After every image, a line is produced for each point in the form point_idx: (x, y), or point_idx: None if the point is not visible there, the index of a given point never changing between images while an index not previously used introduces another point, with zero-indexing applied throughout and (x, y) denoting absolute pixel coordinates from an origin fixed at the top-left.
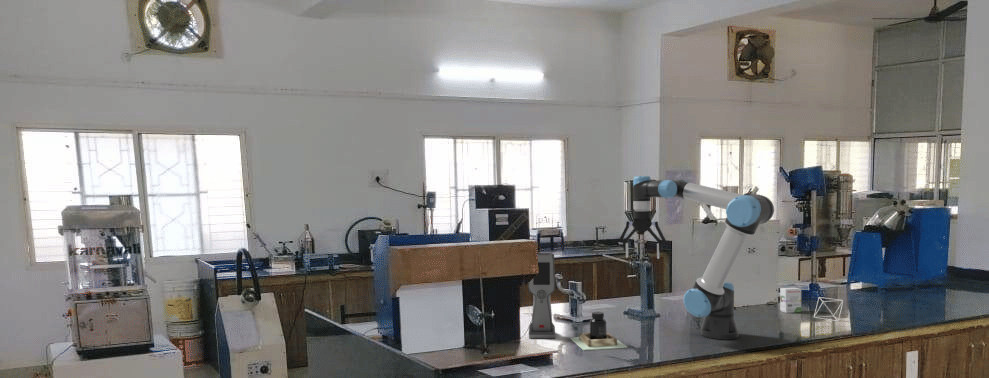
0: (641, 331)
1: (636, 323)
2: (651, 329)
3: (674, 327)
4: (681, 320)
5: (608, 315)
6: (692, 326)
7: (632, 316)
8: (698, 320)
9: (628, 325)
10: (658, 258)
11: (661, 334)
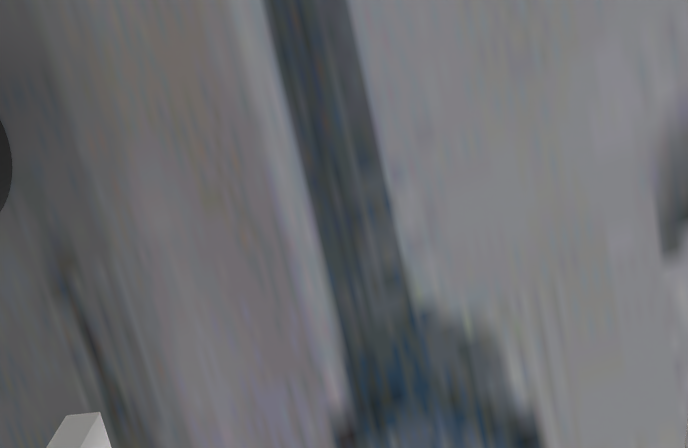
0: (352, 42)
1: (424, 232)
2: (305, 121)
3: (191, 225)
4: (200, 393)
5: (619, 355)
6: (106, 287)
7: (478, 382)
8: (117, 424)
9: (461, 164)
10: (71, 418)
11: (215, 16)
